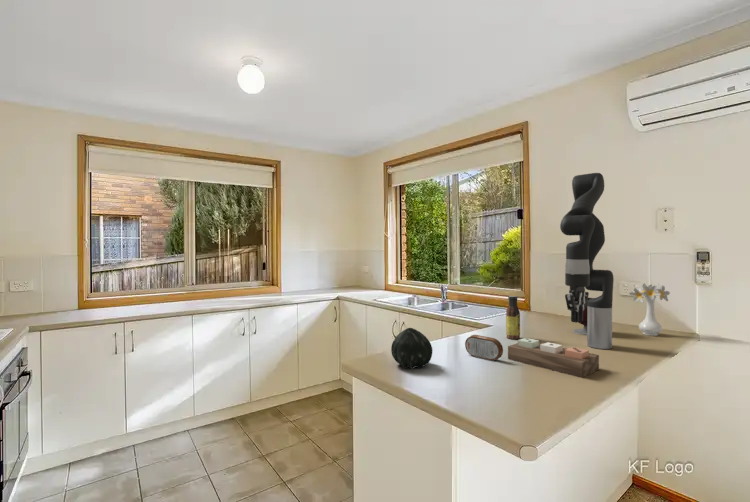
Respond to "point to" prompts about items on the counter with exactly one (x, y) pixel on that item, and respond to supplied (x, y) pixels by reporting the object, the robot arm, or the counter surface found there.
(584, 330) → the mate gourd
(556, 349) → the one dot button
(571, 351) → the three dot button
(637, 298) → the flower vase
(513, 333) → the sauce bottle
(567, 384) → the counter surface
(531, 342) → the two dot button
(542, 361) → the console
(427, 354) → the squash
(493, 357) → the tin
